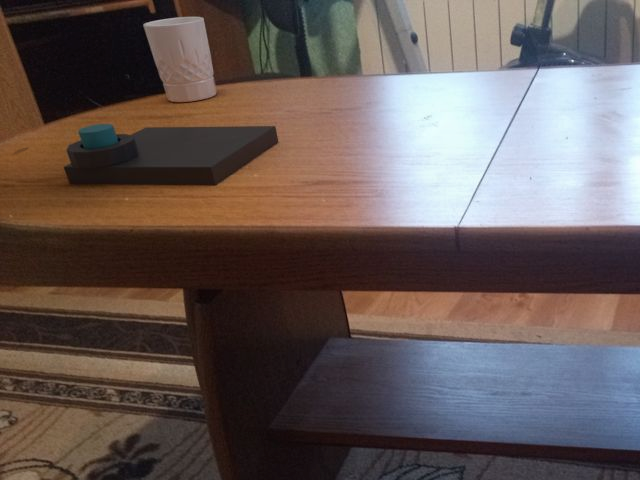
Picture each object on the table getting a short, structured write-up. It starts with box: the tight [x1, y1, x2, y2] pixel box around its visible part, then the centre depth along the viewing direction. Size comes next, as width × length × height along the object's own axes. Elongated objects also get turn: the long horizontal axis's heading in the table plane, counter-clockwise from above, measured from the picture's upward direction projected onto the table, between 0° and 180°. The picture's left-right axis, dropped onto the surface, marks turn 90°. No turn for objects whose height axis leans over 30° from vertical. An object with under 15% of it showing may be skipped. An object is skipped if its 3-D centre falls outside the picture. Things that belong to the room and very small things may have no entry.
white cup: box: [142, 16, 218, 103], centre depth 102 cm, size 8×8×10 cm
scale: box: [63, 125, 279, 186], centre depth 75 cm, size 16×15×4 cm
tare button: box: [77, 123, 118, 148], centre depth 72 cm, size 3×3×2 cm
